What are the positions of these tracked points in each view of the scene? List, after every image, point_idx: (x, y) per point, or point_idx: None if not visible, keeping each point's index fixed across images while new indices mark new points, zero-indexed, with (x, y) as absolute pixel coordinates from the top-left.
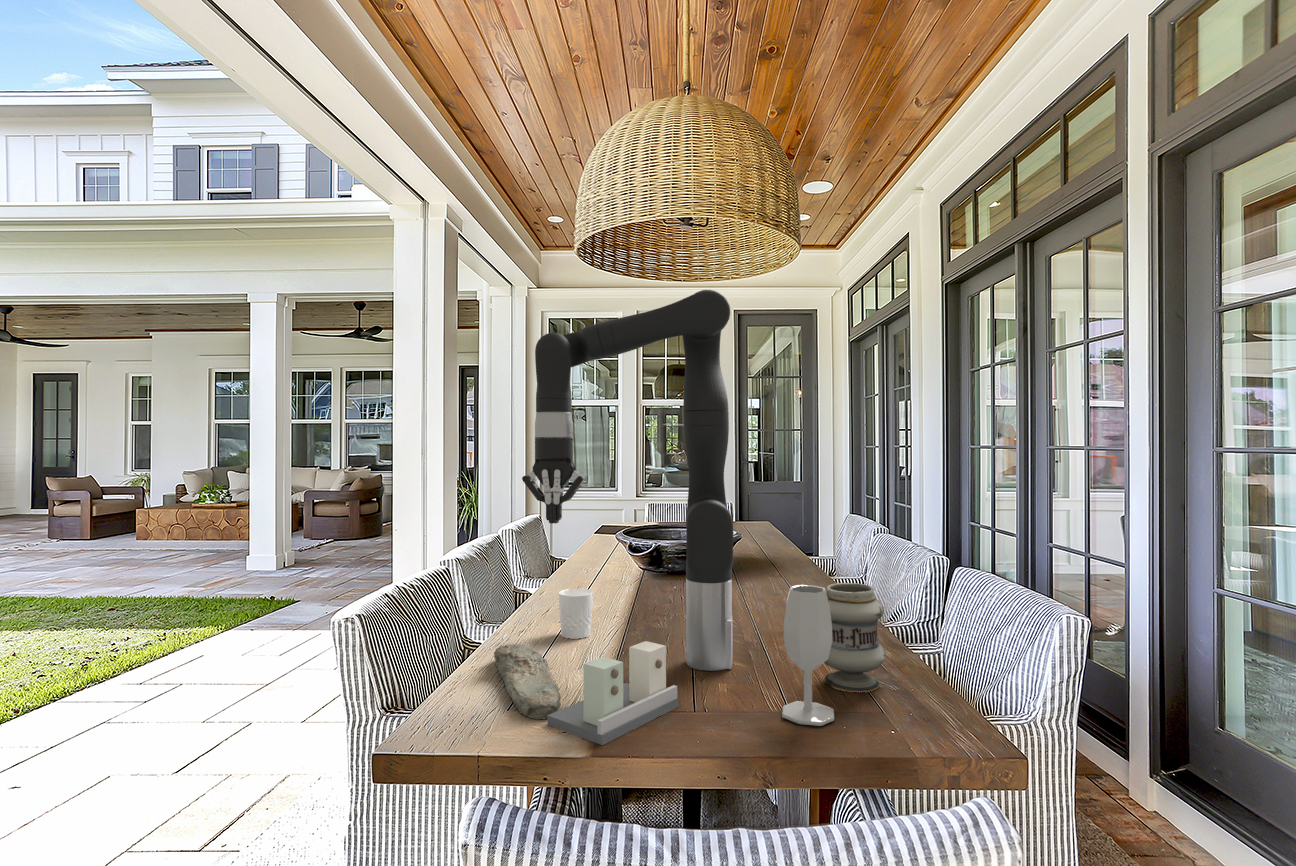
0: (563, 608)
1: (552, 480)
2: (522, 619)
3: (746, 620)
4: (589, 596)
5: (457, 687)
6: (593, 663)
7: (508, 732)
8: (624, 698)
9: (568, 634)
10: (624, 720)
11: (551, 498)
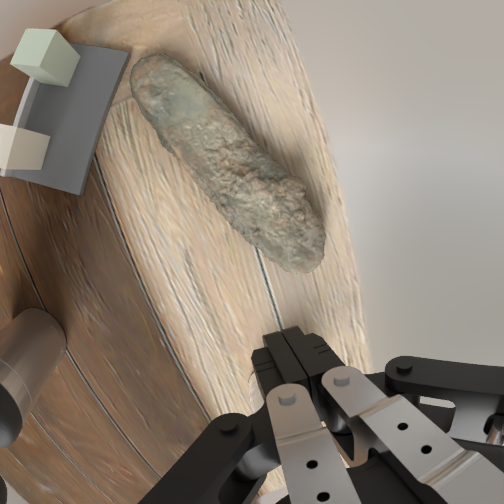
0: None
1: (379, 495)
2: None
3: (100, 483)
4: None
5: (311, 120)
6: (43, 37)
7: (165, 24)
8: (58, 140)
9: None
10: None
11: (331, 404)
